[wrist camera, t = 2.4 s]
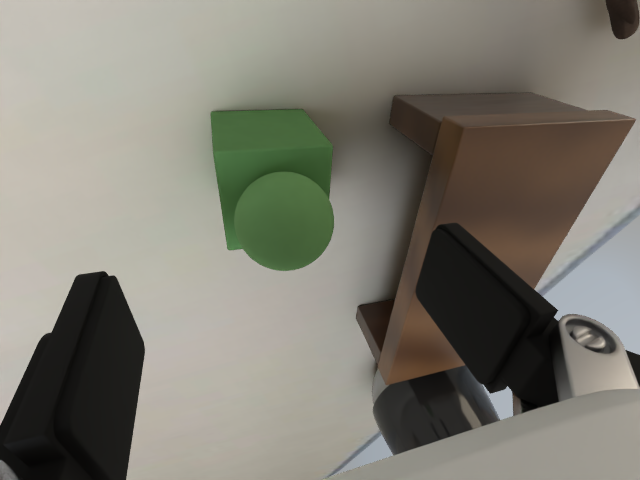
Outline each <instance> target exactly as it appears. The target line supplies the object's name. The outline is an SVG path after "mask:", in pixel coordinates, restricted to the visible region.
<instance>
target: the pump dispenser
mask: <svg viewBox="0 0 640 480" xmlns="http://www.w3.org/2000/svg"><path fill="white" fill-rule="evenodd" d="M372 396H373V404H374V406H373V415H374V418H375V420H376V423H377V425H378V427H379V430H380V432H381V433H382V435H383V437H384V439H385V441H386V443H387V445H388V446H389V448H390V450H391V452H392V454H393V455H397V454H400V453H403V452H406V451H409V450H412V449H415V448H418V447H421V446H424V445H427V444H430V443H433V442H436V441H439V440H442V439H445V438H448V437H451V436H454V435H457V434H460V433H463V432H466V431H469V430H473V429H476V428H479V427H482V426H485V425H488V424H491V423H494V422H497V421H500V419H499V417H498V414H497V412H496V411H495V408H494V406H493V404H492V402H491V400H490V398H489V397H488V395H487V393H486V391H485V389H484V387H483V386H482V384H480V383H479V382H478V381H477V380H476V379H475V377H474V376H473V375H472V373H471V372H470V371H469V369H468V368H467V366H466V365H464V366H460V367H456V368H452V369H448V370H444V371H440V372H437V373H433V374H429V375H425V376H421V377H417V378H413V379H409V380H405V381H401V382H397V383H393V384H390V385H385V382H384V380H383V378H382V376H381V374H380V372H379V369H378V370H377V372H376V374H375V377H374V380H373V387H372Z"/></svg>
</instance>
